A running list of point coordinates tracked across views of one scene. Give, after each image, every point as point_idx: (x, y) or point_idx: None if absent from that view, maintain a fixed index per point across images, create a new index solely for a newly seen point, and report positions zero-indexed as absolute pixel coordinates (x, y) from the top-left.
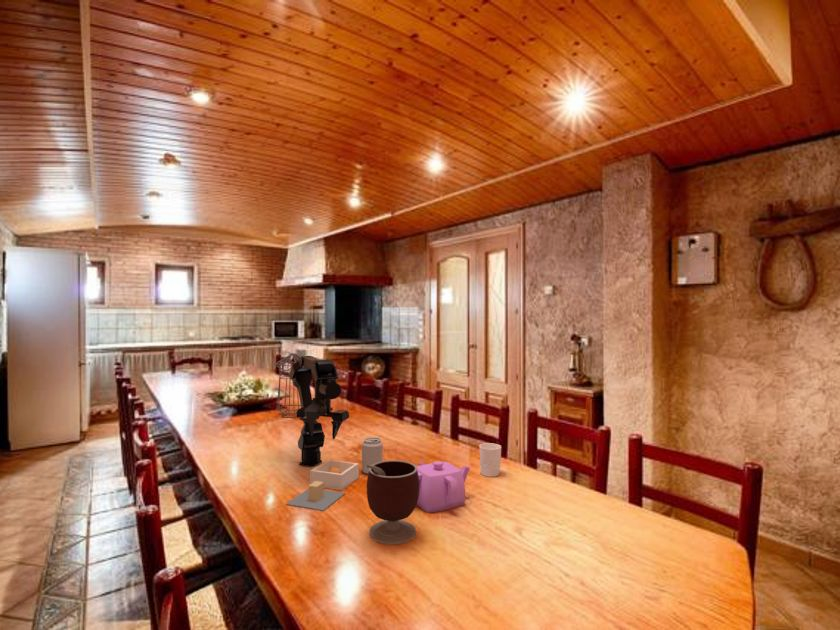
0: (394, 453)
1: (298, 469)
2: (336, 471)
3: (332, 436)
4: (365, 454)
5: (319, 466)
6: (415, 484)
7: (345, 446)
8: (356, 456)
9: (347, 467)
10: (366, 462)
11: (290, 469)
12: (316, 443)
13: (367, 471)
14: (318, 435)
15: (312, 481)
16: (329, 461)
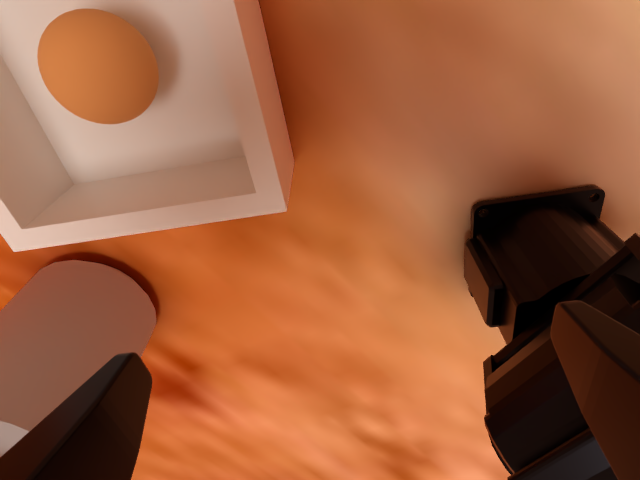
0: (217, 475)
1: (556, 115)
2: (40, 50)
3: (102, 384)
4: (6, 349)
5: (207, 2)
6: None
7: (474, 463)
8: (340, 405)
9: (102, 201)
10: (34, 304)
11: (624, 82)
12: (526, 345)
13: (60, 265)
14: (540, 424)
15: None
16: (256, 187)
